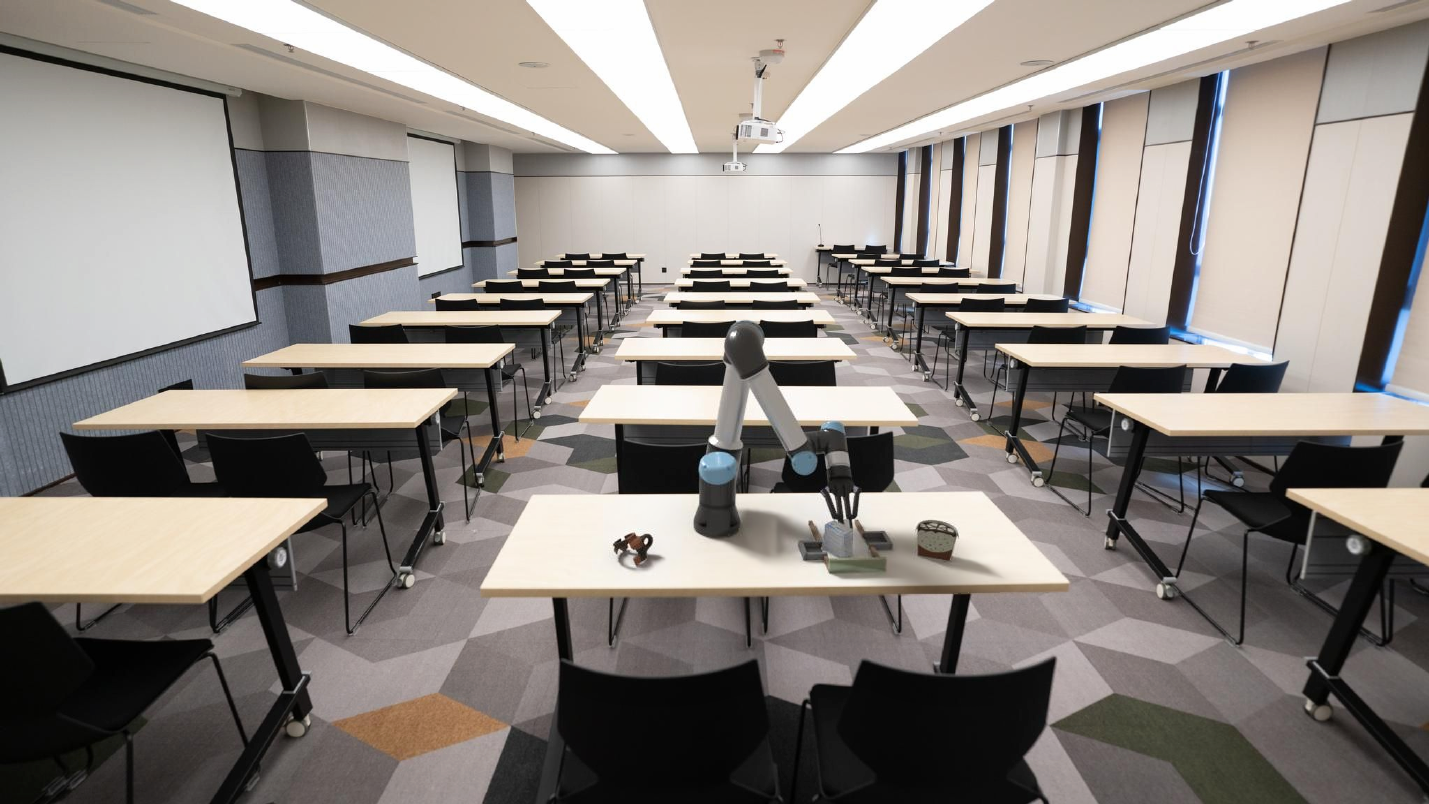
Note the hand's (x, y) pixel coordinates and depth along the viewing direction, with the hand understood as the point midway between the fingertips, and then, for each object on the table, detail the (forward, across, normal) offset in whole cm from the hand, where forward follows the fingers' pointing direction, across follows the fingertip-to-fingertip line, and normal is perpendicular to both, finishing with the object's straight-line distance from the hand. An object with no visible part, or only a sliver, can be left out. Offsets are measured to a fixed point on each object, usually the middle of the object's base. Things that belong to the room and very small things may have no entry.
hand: (848, 541), depth 204 cm
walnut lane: (0, 0, -4) cm, 4 cm away
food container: (+5, -26, 0) cm, 26 cm away
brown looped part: (+3, +64, -2) cm, 64 cm away
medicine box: (+3, +3, -1) cm, 5 cm away
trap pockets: (+1, 0, -3) cm, 3 cm away
